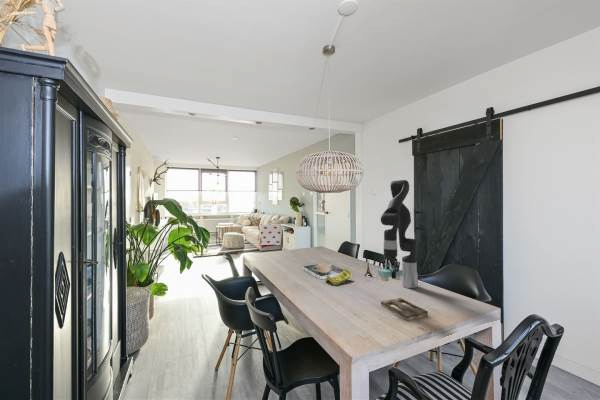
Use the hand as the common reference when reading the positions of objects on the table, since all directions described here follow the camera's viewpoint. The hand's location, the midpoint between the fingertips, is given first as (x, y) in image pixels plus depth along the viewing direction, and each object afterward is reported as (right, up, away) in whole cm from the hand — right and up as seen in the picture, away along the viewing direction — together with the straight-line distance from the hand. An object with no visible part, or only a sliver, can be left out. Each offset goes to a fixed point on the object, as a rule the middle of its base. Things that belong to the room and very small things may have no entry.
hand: (390, 277), depth 154 cm
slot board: (+4, -16, -8) cm, 18 cm away
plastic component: (-23, -16, +44) cm, 52 cm away
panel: (0, -1, 0) cm, 1 cm away
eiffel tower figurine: (+2, -16, +57) cm, 60 cm away
